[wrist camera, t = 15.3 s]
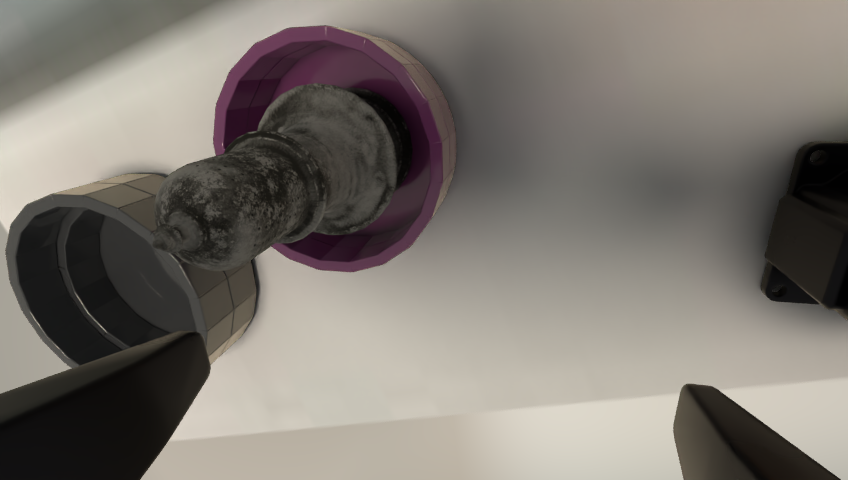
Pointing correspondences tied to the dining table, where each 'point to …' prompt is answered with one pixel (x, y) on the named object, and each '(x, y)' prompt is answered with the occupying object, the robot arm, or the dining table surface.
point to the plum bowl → (344, 67)
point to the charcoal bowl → (116, 275)
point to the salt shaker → (287, 178)
